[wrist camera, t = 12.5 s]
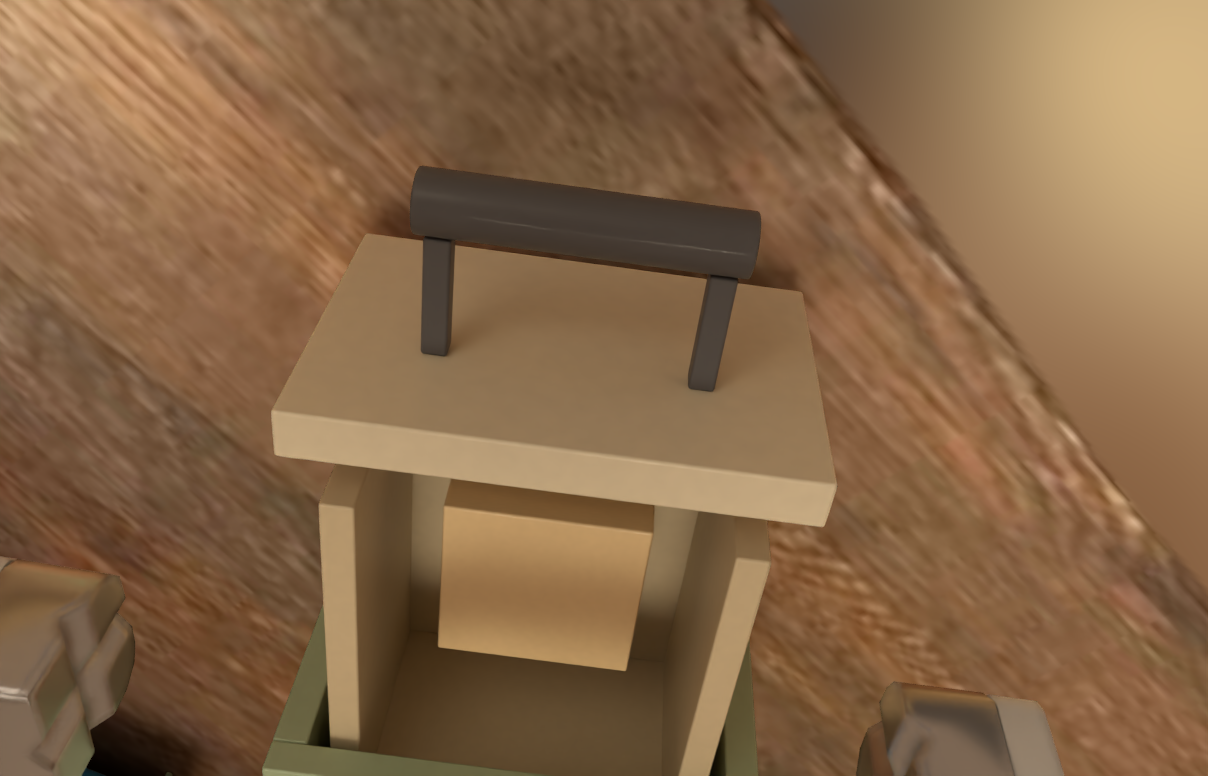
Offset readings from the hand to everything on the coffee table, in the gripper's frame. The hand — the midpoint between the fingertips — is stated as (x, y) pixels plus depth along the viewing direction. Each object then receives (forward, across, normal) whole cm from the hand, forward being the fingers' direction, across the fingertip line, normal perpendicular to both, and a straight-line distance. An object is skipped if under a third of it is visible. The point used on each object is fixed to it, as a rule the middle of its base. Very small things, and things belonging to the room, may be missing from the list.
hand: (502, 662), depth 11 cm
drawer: (+17, 0, +10) cm, 20 cm away
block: (+16, 0, +11) cm, 19 cm away
